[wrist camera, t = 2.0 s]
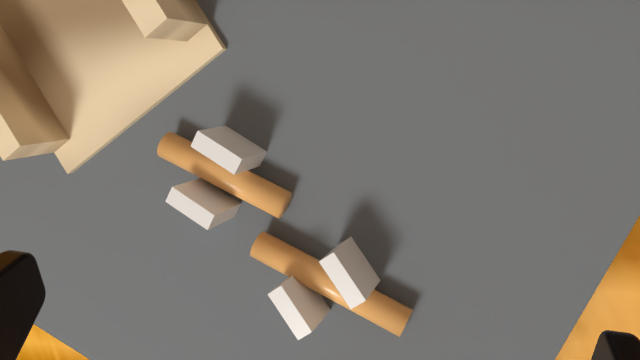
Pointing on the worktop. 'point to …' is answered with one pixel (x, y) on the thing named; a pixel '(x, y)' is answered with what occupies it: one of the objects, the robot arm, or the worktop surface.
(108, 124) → the end holder
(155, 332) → the slate mat
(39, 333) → the worktop surface
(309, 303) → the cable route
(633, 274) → the worktop surface
